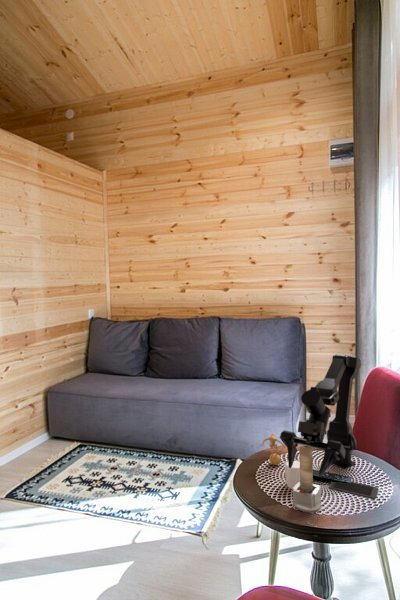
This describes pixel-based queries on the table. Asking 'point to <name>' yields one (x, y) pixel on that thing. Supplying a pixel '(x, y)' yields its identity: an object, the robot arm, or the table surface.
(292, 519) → the table surface
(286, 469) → the white short cylinder
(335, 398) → the robot arm
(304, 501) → the stand
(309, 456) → the post
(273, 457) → the figurine
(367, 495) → the cell phone
